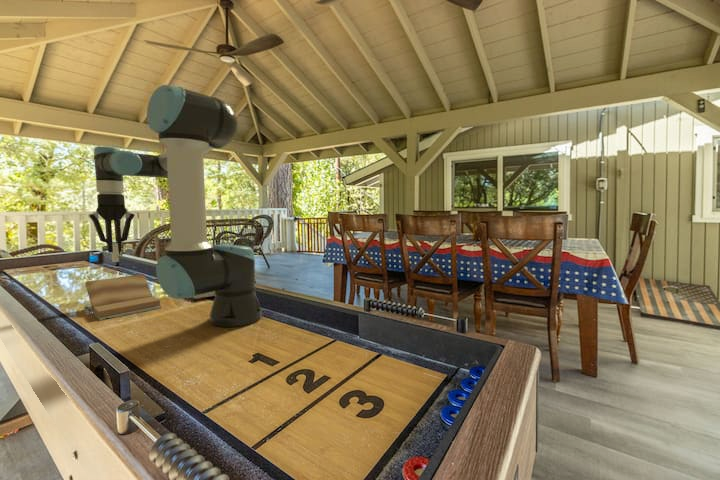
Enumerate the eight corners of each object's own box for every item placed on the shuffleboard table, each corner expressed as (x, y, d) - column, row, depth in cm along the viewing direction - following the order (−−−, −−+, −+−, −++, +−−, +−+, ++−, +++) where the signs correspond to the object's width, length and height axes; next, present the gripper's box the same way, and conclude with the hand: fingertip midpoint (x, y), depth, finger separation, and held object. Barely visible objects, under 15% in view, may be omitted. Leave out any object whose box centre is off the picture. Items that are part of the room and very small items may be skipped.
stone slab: (194, 279, 150) (221, 289, 129) (195, 286, 151) (222, 298, 129) (168, 283, 143) (192, 295, 122) (169, 291, 144) (193, 304, 122)
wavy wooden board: (151, 299, 122) (152, 296, 121) (92, 310, 110) (93, 306, 109) (143, 277, 127) (143, 273, 126) (85, 285, 115) (86, 281, 114)
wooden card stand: (161, 308, 116) (160, 300, 116) (99, 320, 103) (99, 312, 103) (142, 296, 130) (141, 289, 130) (86, 306, 117) (85, 299, 117)
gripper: (129, 194, 123) (133, 257, 126) (84, 193, 114) (89, 262, 116) (136, 194, 118) (140, 260, 121) (89, 193, 109) (94, 265, 111)
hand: (115, 261), depth 119 cm, fingers closed
